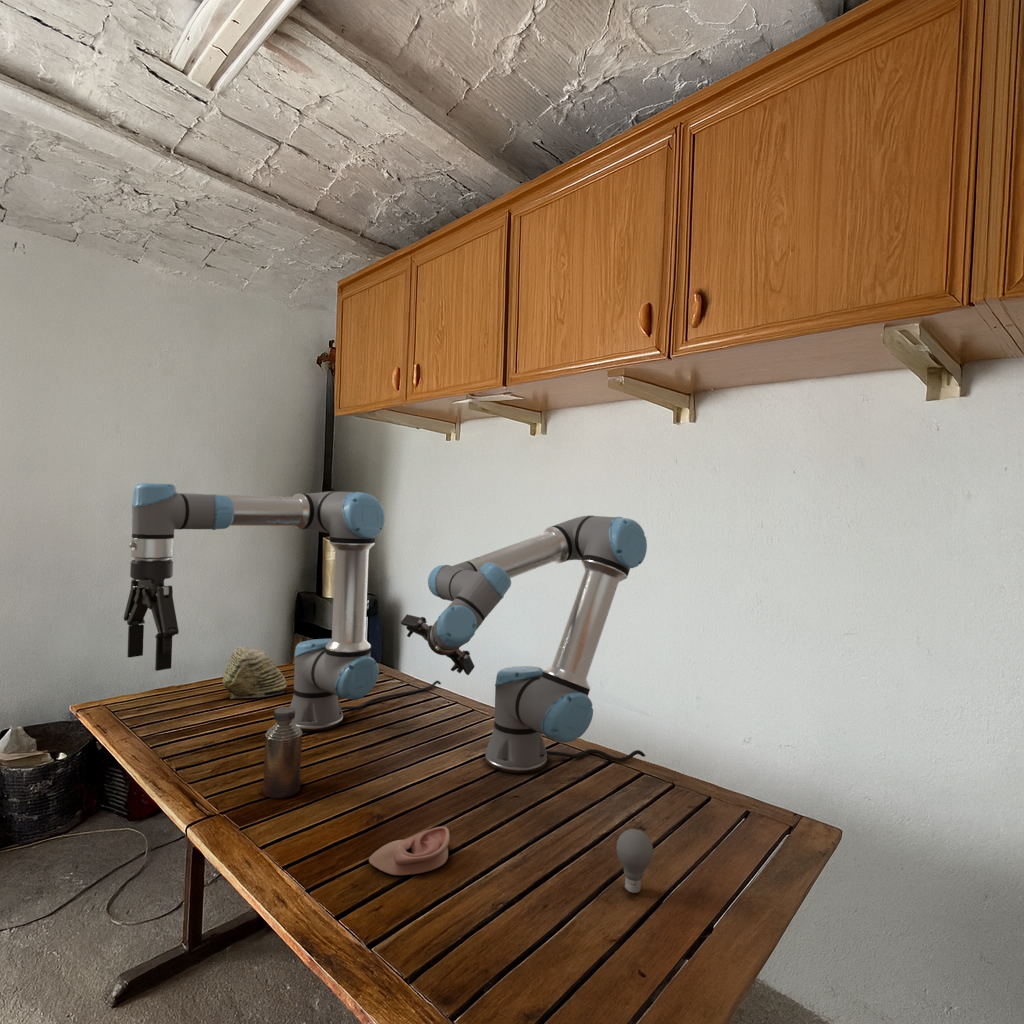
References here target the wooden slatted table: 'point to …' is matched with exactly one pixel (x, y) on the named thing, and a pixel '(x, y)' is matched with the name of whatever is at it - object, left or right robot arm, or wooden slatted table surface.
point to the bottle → (282, 760)
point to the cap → (284, 714)
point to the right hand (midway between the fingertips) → (433, 649)
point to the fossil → (252, 674)
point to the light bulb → (634, 857)
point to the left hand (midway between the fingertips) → (148, 662)
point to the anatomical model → (413, 853)
